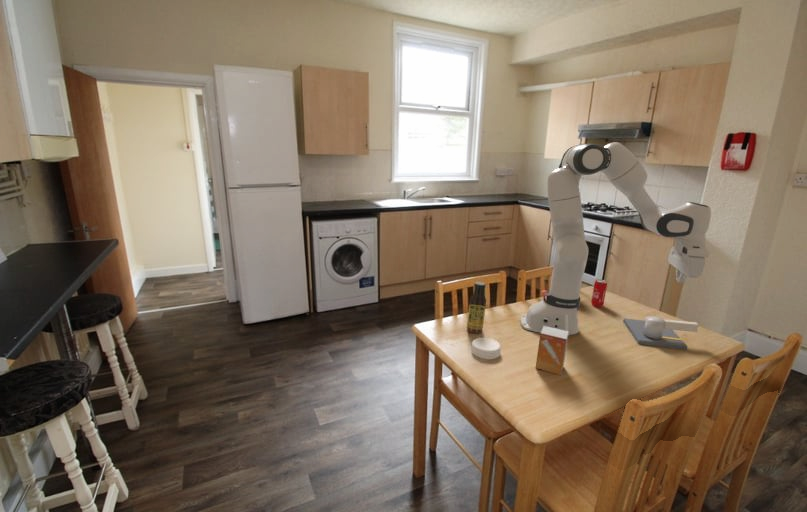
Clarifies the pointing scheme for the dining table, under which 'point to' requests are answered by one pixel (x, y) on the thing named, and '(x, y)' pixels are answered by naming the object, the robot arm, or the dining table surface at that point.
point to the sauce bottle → (477, 309)
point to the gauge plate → (667, 340)
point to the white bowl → (486, 348)
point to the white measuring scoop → (666, 326)
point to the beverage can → (599, 293)
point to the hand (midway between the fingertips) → (679, 281)
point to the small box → (552, 349)
